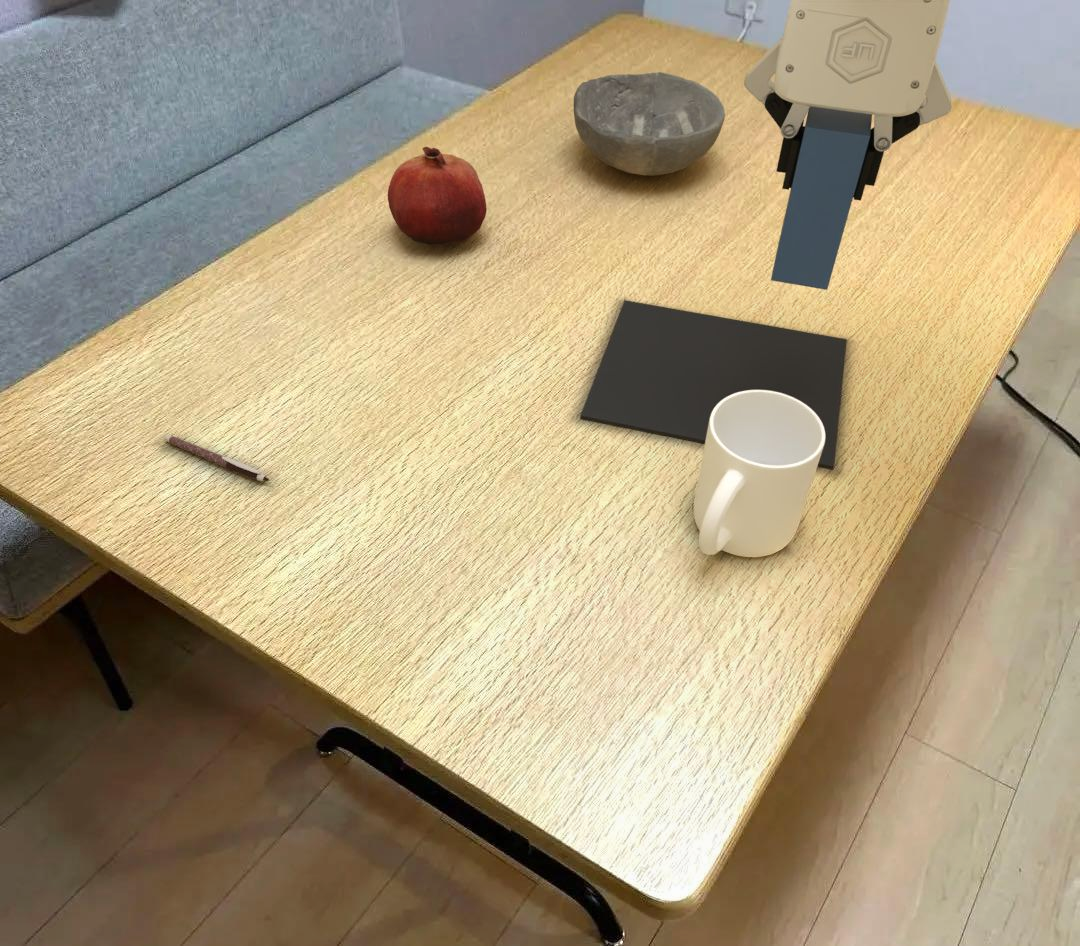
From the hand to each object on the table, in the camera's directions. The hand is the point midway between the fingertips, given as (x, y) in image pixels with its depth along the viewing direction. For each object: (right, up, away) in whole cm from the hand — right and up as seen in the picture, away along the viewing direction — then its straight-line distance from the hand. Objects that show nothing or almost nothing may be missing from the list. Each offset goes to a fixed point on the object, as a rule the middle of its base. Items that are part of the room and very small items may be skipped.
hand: (823, 183), depth 72 cm
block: (0, -5, +6) cm, 8 cm away
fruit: (-33, +4, +32) cm, 46 cm away
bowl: (-9, +16, +44) cm, 48 cm away
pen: (-49, -21, +7) cm, 54 cm away
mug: (-6, -27, +3) cm, 28 cm away
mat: (-5, -13, +16) cm, 21 cm away
